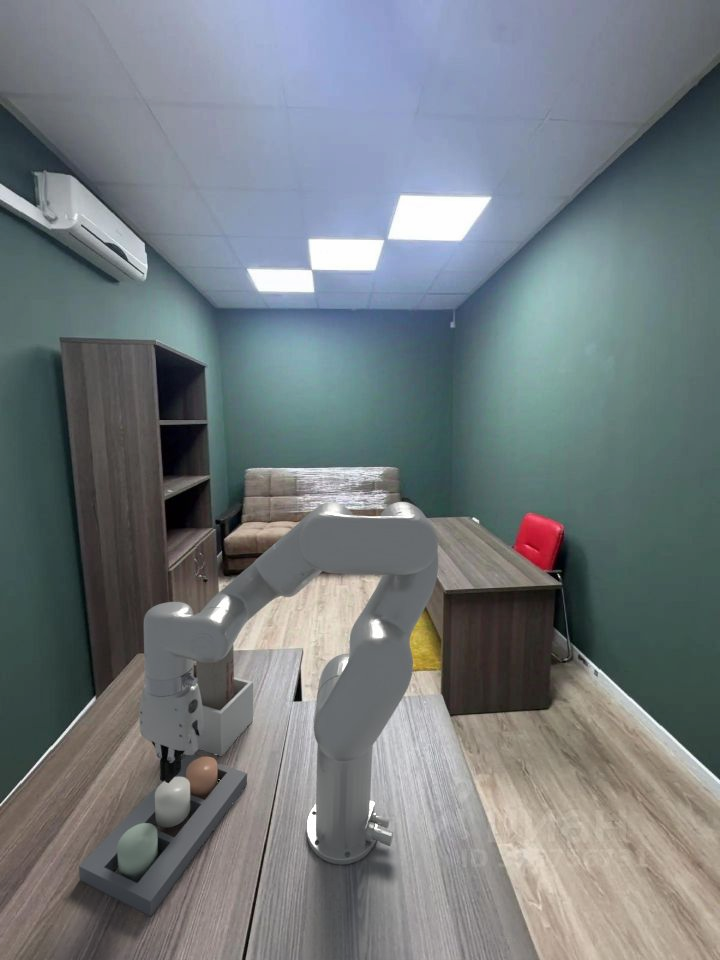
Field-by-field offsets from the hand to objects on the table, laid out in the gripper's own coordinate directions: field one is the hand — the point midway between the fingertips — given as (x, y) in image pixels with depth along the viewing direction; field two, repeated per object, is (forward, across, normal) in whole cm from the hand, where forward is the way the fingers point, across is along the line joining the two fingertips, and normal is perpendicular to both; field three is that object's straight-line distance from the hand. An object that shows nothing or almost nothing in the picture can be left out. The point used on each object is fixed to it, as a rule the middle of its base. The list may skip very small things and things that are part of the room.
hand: (170, 775), depth 73 cm
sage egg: (+9, 0, +8) cm, 12 cm away
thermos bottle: (+10, +8, -22) cm, 25 cm away
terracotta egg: (+9, 0, -8) cm, 12 cm away
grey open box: (+10, +8, -22) cm, 25 cm away
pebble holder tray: (+10, 0, 0) cm, 10 cm away
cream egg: (+7, 0, 0) cm, 7 cm away
